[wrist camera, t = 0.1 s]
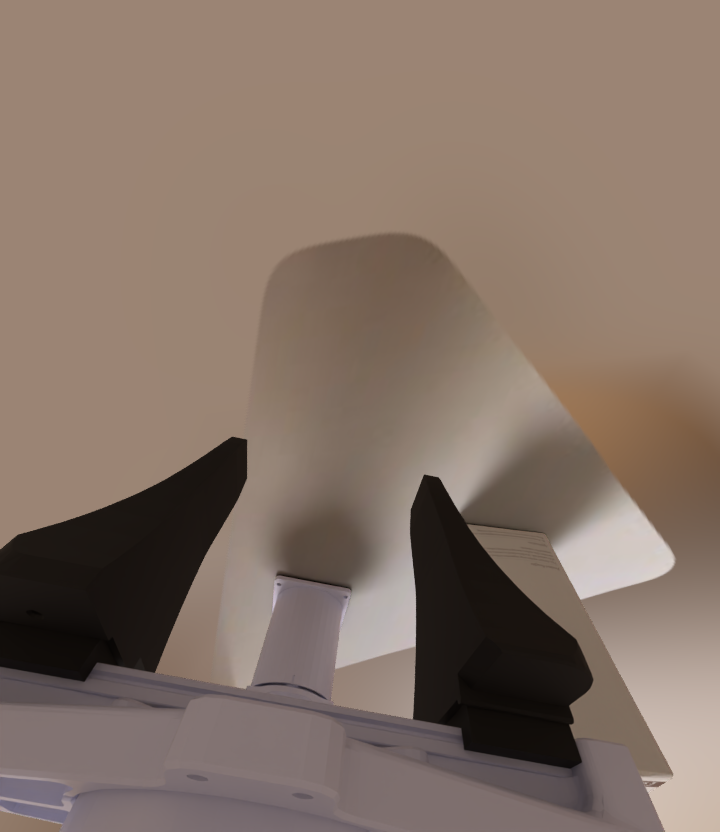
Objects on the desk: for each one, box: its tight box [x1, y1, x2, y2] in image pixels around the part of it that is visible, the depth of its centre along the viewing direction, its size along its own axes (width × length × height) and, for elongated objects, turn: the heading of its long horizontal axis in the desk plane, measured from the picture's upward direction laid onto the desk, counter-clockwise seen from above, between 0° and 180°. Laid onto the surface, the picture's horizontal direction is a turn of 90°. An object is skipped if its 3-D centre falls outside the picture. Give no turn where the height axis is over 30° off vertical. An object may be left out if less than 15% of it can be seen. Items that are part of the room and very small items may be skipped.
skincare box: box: [467, 524, 673, 792], centre depth 23 cm, size 8×6×15 cm
